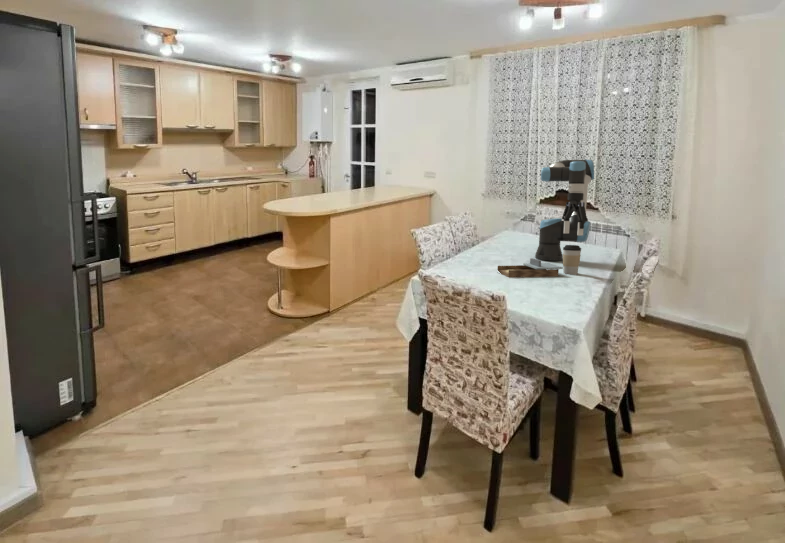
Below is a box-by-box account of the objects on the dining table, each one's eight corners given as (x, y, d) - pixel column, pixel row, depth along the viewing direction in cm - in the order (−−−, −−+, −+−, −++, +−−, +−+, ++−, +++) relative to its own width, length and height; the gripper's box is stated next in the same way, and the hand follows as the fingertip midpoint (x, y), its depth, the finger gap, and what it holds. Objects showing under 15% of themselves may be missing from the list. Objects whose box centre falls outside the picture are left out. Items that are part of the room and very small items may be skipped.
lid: (548, 264, 255) (548, 257, 255) (562, 268, 240) (563, 261, 240) (523, 264, 253) (523, 257, 253) (536, 269, 238) (536, 261, 237)
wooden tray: (543, 271, 256) (544, 265, 255) (558, 276, 240) (558, 269, 240) (497, 272, 252) (497, 265, 251) (508, 277, 236) (509, 270, 236)
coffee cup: (558, 272, 254) (560, 243, 251) (574, 272, 254) (576, 243, 252) (565, 275, 245) (567, 245, 242) (582, 274, 246) (584, 245, 243)
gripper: (556, 192, 255) (554, 232, 258) (582, 192, 230) (579, 236, 233) (570, 192, 256) (567, 232, 259) (596, 192, 231) (593, 236, 235)
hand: (573, 234), depth 246 cm, fingers open, 13 cm apart
